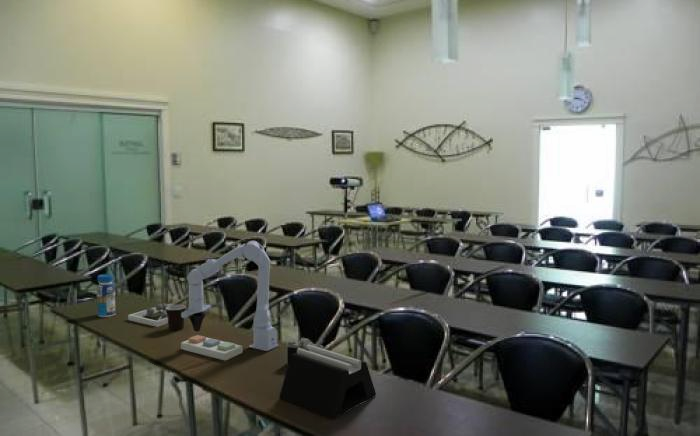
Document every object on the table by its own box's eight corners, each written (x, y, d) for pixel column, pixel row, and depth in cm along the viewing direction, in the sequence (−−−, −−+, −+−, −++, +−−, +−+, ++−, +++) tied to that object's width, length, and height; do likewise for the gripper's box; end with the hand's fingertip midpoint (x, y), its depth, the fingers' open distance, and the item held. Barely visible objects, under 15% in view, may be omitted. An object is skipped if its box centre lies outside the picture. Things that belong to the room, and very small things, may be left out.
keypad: (242, 352, 220) (242, 345, 220) (225, 360, 212) (225, 353, 212) (199, 342, 232) (199, 335, 232) (181, 349, 224) (181, 342, 224)
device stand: (325, 378, 196) (325, 338, 194) (375, 396, 182) (376, 353, 180) (279, 399, 179) (279, 355, 177) (330, 421, 165) (331, 373, 163)
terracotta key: (205, 341, 227) (205, 336, 227) (197, 344, 223) (197, 340, 222) (197, 339, 229) (197, 334, 229) (188, 342, 225) (188, 338, 225)
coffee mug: (182, 331, 246) (182, 310, 245) (163, 331, 246) (163, 309, 245) (190, 324, 257) (190, 303, 256) (172, 323, 258) (171, 303, 256)
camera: (327, 363, 210) (327, 338, 209) (321, 370, 203) (322, 344, 202) (292, 359, 214) (291, 334, 213) (285, 365, 208) (284, 339, 207)
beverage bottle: (97, 313, 273) (95, 274, 271) (115, 311, 276) (114, 272, 274) (97, 318, 265) (95, 277, 263) (116, 316, 269) (114, 276, 267)
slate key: (220, 345, 223) (220, 340, 223) (211, 348, 219) (211, 343, 218) (211, 342, 225) (211, 338, 225) (202, 346, 221) (202, 341, 221)
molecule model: (148, 332, 267) (149, 324, 258) (139, 317, 269) (140, 309, 260) (177, 317, 275) (179, 309, 266) (168, 303, 277) (169, 294, 269)
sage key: (235, 348, 219) (235, 343, 219) (226, 352, 215) (226, 347, 214) (226, 346, 221) (226, 341, 221) (217, 350, 217) (217, 345, 217)
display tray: (189, 316, 270) (189, 311, 270) (157, 326, 253) (156, 321, 253) (161, 310, 280) (161, 305, 280) (128, 320, 263) (128, 315, 262)
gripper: (202, 293, 232) (202, 324, 234) (175, 300, 220) (176, 333, 221) (214, 295, 229) (215, 327, 230) (188, 303, 216) (188, 336, 218)
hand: (196, 330), depth 225 cm, fingers closed
